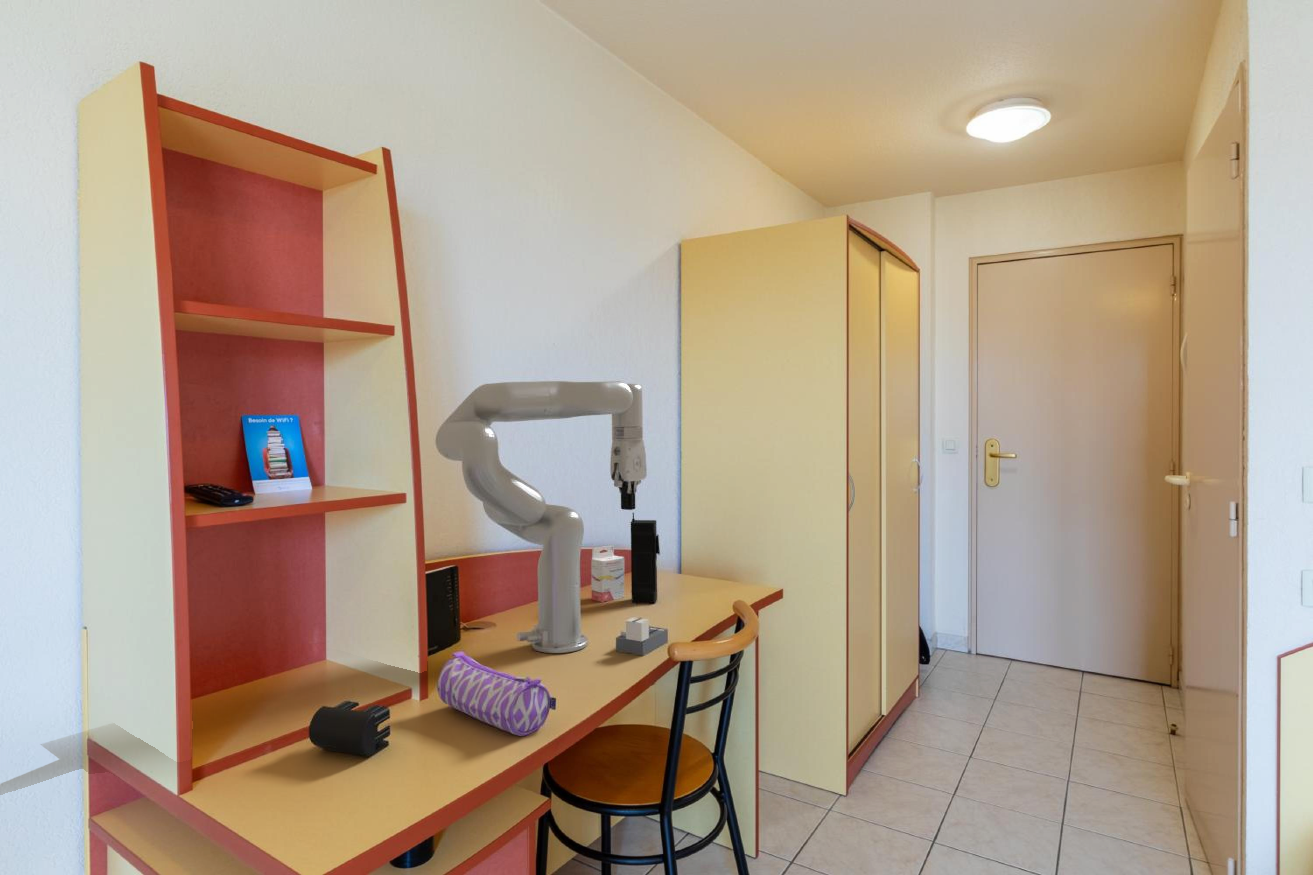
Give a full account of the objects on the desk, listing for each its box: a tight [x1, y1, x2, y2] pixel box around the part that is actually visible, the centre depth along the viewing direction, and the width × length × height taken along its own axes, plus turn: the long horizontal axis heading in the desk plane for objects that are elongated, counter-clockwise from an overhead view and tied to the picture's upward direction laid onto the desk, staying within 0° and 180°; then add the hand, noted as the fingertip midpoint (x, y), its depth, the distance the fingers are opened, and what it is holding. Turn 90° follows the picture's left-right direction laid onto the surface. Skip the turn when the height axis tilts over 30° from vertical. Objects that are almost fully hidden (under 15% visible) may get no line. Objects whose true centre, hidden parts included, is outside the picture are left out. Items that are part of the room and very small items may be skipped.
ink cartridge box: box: [590, 544, 625, 603], centre depth 206 cm, size 9×5×15 cm, turn 133°
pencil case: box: [437, 650, 557, 737], centre depth 124 cm, size 22×9×10 cm, turn 53°
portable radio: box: [630, 512, 661, 605], centre depth 203 cm, size 8×6×25 cm
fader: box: [625, 616, 650, 642], centre depth 158 cm, size 3×4×4 cm
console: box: [615, 625, 669, 657], centre depth 163 cm, size 11×7×4 cm, turn 150°
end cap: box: [308, 700, 391, 758], centre depth 113 cm, size 10×7×7 cm
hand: (628, 509), depth 177 cm, fingers closed
